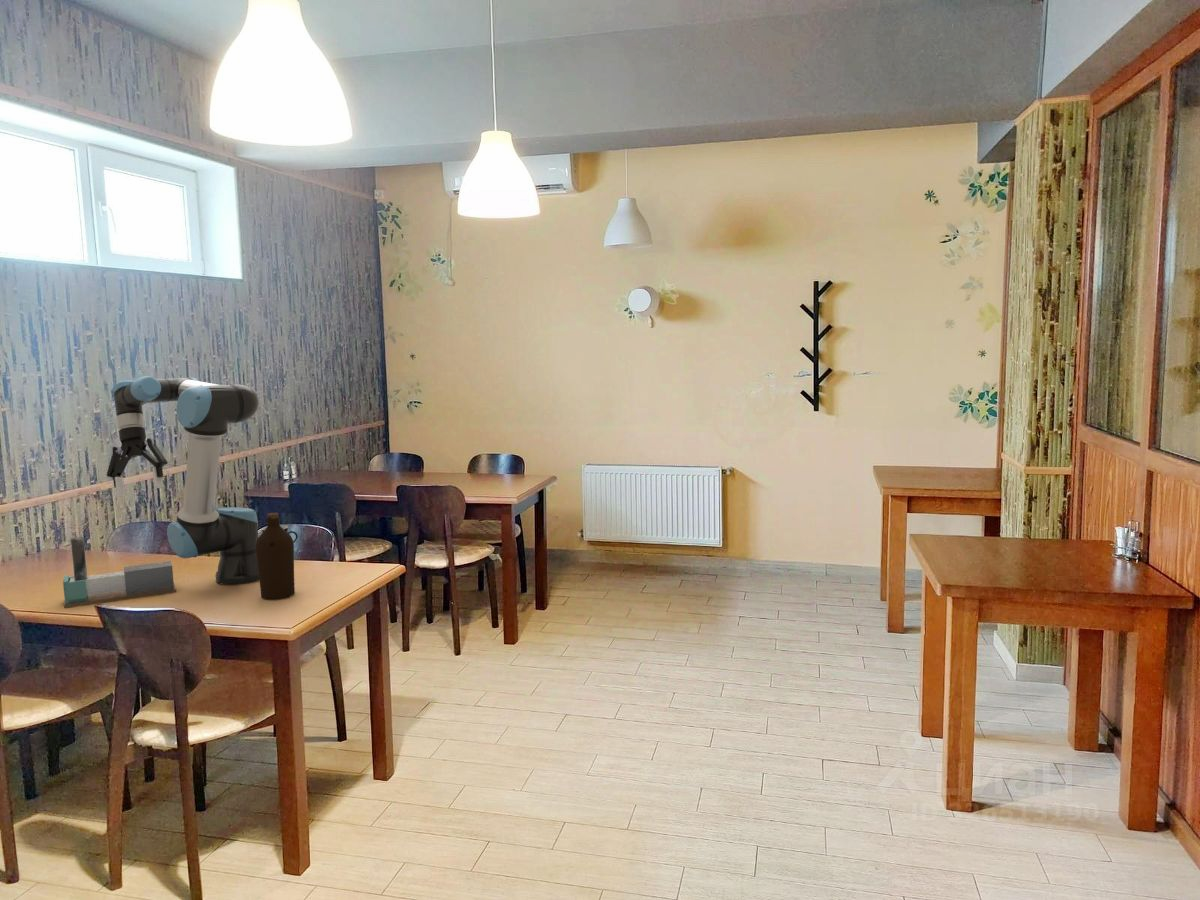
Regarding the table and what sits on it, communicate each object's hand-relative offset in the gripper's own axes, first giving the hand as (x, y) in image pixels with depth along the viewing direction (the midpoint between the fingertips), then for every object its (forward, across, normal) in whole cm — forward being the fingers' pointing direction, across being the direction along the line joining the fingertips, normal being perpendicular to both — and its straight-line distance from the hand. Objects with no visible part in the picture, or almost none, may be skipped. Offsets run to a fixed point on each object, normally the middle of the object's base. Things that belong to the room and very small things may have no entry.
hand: (140, 492), depth 269 cm
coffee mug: (+26, -23, -38) cm, 51 cm away
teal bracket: (+31, +10, +20) cm, 38 cm away
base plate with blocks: (+32, +1, +12) cm, 35 cm away
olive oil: (+42, -46, +7) cm, 63 cm away
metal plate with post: (+30, +5, +16) cm, 34 cm away
